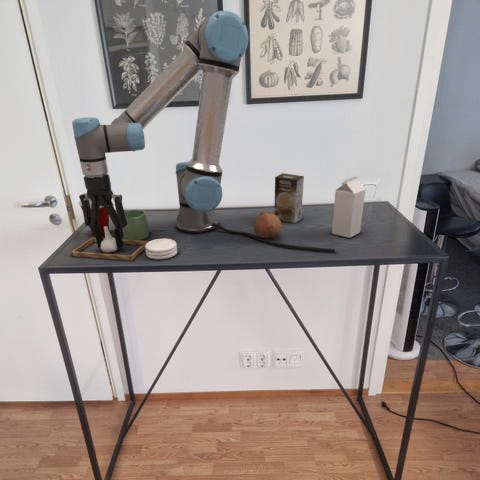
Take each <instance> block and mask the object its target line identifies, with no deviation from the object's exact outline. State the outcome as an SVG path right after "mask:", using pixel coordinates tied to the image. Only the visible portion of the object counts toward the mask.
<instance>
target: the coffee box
mask: <svg viewBox="0 0 480 480" xmlns="http://www.w3.org/2000/svg"><path fill="white" fill-rule="evenodd" d="M304 181H305V176H304V175H298V174H291V173H284V172H282V173H280V174H278V175H277V176H274V206H273V207H274V212H273V214H275V215H276V216H277V217H278V218H279V219H280V221H281V222H286V223H291V224H296V223H298V222H299V221H300V220H302V215H303V214H302V213H303V199H304V197H303V196H304Z"/></svg>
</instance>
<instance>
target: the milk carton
mask: <svg viewBox="0 0 480 480" xmlns="http://www.w3.org/2000/svg"><path fill="white" fill-rule="evenodd" d="M358 176H359V174H356V175H353V176H351V177H349V178H346V179H345V180H343V181H342V182H341V186H339V187H337V189H335V191H334V203H333V213H332V226H331V234H332V235H336V236H340V237H344V238H347V239H351V238H352V237H354V236H357V235H358V234H360V233H361V228H362V222H363V221H362V220H363V212H364V205H365V196H366V188H365V186H364V185H363V184H362V182H360V180H359V179H358Z"/></svg>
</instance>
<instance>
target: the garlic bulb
mask: <svg viewBox="0 0 480 480" xmlns="http://www.w3.org/2000/svg"><path fill="white" fill-rule="evenodd" d="M104 231H105V236H104V238H105V239H104V240H103V241H102V242H101V248H100V250H101V251H102V252H103V253H106V254H109V253H113V252H114V253H115V252H116V251H118V250H119V249H117V244H116V239H115V237H113V236H112V234H111V232H110V229H109V230H108V228H107V226H105V227H104Z"/></svg>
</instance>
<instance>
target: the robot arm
mask: <svg viewBox="0 0 480 480" xmlns="http://www.w3.org/2000/svg"><path fill="white" fill-rule="evenodd" d="M248 44H249V32H248V29H247V25H246V23H245V22H244V20H243V19H242V17H240V16H239V15H238V14H237V13H236V12H233V11H229V10H218V11H216V12H214V13H213V14H211V15H209V16H207V17H205V18H204V19H203V20H202V21H201V23H200V24H199V25H198V26H197V27H196V29H195V30H194V32H193V34H191V36H189V38H188V39H187V40H186V41H185V42H184V43H183V44H182V51H181V52H180V53H179V54H178V55H177V56H176V57H175V58H174V59H173V60H172V61H171V62H170V63H169V64H168V65H167V66H166V68H164V69H163V71H161V72H160V74H159V75H157V77H156V78H154V80H153V81H152V82H151V83H150V84H149V85H148V86H147V87H146V88H145V89H144V90H143V91H142V92H140V94H139V95H138V96H137V97H136V98H135V99H134V101H132V103H131V104H129V106H128V107H126V108H125V110H124V111H123V112H121V114H120V115H119V116H118V117H116V118H114V119H113V121H112V122H111V123H110V124H101V122H100V120H99V118H98V117H90V116H89V117H79V118H75V119H74V120H72V122H71V125H72V131H73V137H74V138H73V139H74V142H75V146H76V151H77V155H78V160H79V163H80V164H79V165H80V169H81V172H82V173H81V174H82V175H83V182H84V187H85V190H86V193H85V192H84V193H81V194H80V195H78V198H79V201H81V203H82V208H83V211H82V214H83V220H84V225H85V226H86V227H89V226H90V227H91V228H92V232H93V234H92V236H93V238H96V241H97V242H96V244H97V245H96V246H97V249H101V242H102V241H103V238H104V236H102V232H101V227H100V226H97V225H99V224H98V216H99V207H100V206H103V207H104V208H105V209H106V210H107V212H108V214H109V219H110V220H111V222H112V224H113V226H114V229H113V235H114V238H115V239H116V244H117V249H118V250H120V249H122V248H123V247H124V244H123V241H122V238H123V237H124V235H123V230H122V228H124V227H125V226H126V225H127V221H126V217H125V213H124V211H125V210H124V209H125V208H124V205H123V195H122V194H116V193H114V191H113V190H112V183H111V177H110V174H108V173H109V167H108V162H107V156H106V154H109V153H122V152H123V153H124V152H136V151H143V150H145V148H146V139H145V134H144V129H146V127H147V126H148V125H149V124H151V122H152V121H153V120H154V119H155V118H156V117H157V116H158V115H159V114H160V113H161V112H162V111H163V110H164V109H165V108H166V107H167V106H168V105H169V104H171V102H172V101H173V100H175V98H176V97H177V96H178V95H179V94H180V93H181V92H183V90H184V89H185V88H186V87H187V86H188V85H190V83H191V82H192V81H193V80H195V78H196V77H197V76H198V75H199V74H202V80H201V87H200V94H199V101H198V109H197V117H196V124H195V134H194V141H193V146H192V147H193V149H192V156H191V159H190V160H189V161H182V162H178V163H177V164H176V165H175V175H176V184H177V186H176V187H177V193H178V195H177V196H178V203H179V204H178V205H179V209H178V212H177V217H176V223H175V224H176V229H177V230H178V231H180V232H183V233H186V234H187V233H188V234H200V233H208V232H211V231H213V230H216V229H217V228H218V229H220V230H222V231H223V232H226V233H228V234H234V235H235V234H236V235H241V236H242V235H243V236H247V237H250V238H252V239H255V240H257V241H260V242H263V243H267V244H270V245H274V246H278V247H283V248H288V249H297V250H306V251H316V252H328V253H329V252H330V253H335V252H336V249H335V248H327V247H326V248H325V247H315V246H306V245H305V246H304V245H295V244H288V243H282V242H279V241H273V240H266V239H263V238H260V237H259V236H257V235H256V234H253V233H250V232H245V231H240V230H239V231H238V230H231V229H227V228H225V227H224V226H222V225H220V224H219V222H218V216H217V215H216V211H215V209H216V208H217V207H218V206H219V205H220V204H221V202H222V198H223V188H222V185H221V183H222V177H223V172H224V171H223V168H222V166H221V165H220V160H221V159H220V158H221V153H222V146H223V141H224V134H225V127H226V121H227V115H228V108H229V102H230V97H231V90H232V84H233V79H234V78H235V77H236V76H237V75H238V74H239V73H240V67H241V61H242V57H244V55H245V53H246V51H247V49H248V47H249V45H248ZM89 199H90V200H91V201H92V204H91V208H92V213H91V210H90V203H89ZM82 208H81V209H82ZM90 227H89V228H90ZM92 232H91V233H92Z"/></svg>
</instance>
